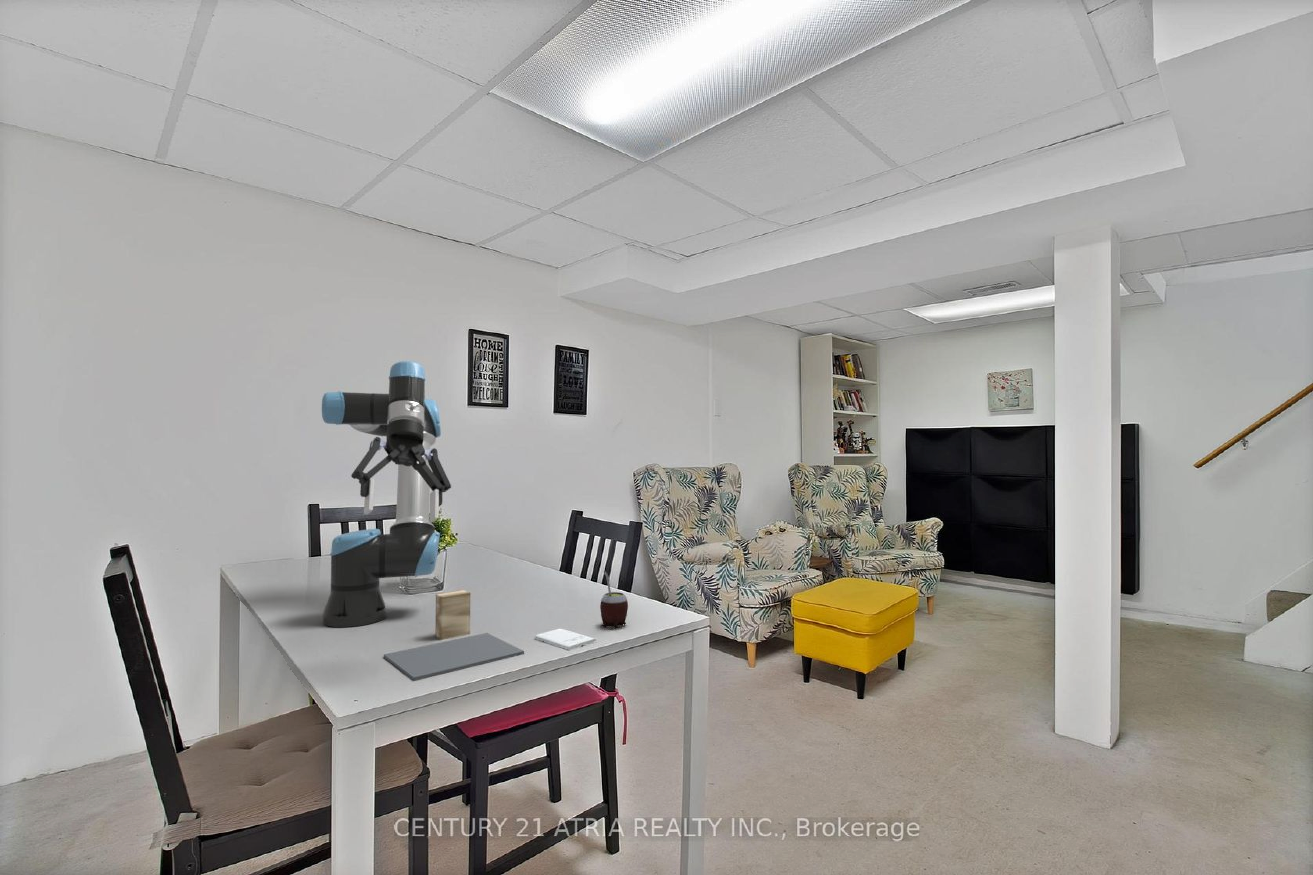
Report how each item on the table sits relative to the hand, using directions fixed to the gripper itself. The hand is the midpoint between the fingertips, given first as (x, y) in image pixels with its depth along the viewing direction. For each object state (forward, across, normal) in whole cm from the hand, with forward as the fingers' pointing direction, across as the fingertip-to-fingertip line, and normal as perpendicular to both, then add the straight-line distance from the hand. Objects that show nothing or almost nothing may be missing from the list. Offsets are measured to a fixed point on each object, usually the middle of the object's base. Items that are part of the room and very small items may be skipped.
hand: (402, 516), depth 125 cm
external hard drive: (+26, +41, +3) cm, 49 cm away
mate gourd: (+22, +57, +3) cm, 61 cm away
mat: (+26, +17, +12) cm, 33 cm away
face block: (+19, +24, +25) cm, 39 cm away
